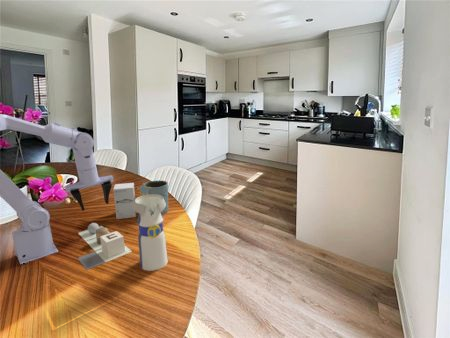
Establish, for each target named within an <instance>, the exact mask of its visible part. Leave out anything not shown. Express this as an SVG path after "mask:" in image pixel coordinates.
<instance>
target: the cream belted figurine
mask: <svg viewBox="0 0 450 338" xmlns="http://www.w3.org/2000/svg"><path fill="white" fill-rule="evenodd" d="M144 183H145V182H143V183H142V184H141V186H140V187H136V189H137V190H138V191H140V192H139V195H140V196H137V197H135V202H134V205H133V209H134V211H135V212H136V214H138V217H137V220H136V224H137V225H138V231H139V232H138V239H137V240H138V241H137V242H138V253H139V254H138V255H139V267H140V269H142V270H144V271H151V272H152V271H157V270H160V269H163V268H164V267H165V266H166V265H167V264H168V260H169V259H168V253H167V242H166V234H165V230H164V227H163V226H164V223H163V221H164V216H163V214H162V215H161V212H162V211H163V210H164V209H165V207H166V203H165V200H164V198H163V197H162V196H161V195H156V194H150V195H148V192H147V191H148V190H149V189H150V188H151V187H145V185H144ZM144 194H146V195H144Z"/></svg>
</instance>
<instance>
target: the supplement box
mask: <svg viewBox="0 0 450 338" xmlns="http://www.w3.org/2000/svg"><path fill="white" fill-rule="evenodd" d="M113 198H114V208H115V209H114V210H115V216H116V217H115V219H116V220H121V219H129V218H136V216H137V212H135V211H134V209H133V205H134V202H135V199H136V193H135V183H134V182H127V183H115V184H114V187H113Z"/></svg>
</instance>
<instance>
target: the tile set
mask: <svg viewBox="0 0 450 338" xmlns="http://www.w3.org/2000/svg"><path fill="white" fill-rule="evenodd" d="M98 226H99V229H100V228H105V227H104V226H103V225H98ZM77 233H78V235H79V236H80V237H81V238H82V239H83V240H84V241H85V242H86V243H87V244H88V246H90V248H91V249H92V250H93V251H94V252H96V253H97V254H98V255H99V256H100V257H101V258H102V259H103V260H104V261H105V263H108V262H110V261H112V260H116V259H118V258H120V257H122V256H123V257H124V256H126V255H127V254H130V253H132V252H133V250H131V249H130V248H129V247H128V246H126V245H125V252H123V253H120V254H118V255H115V256H113V257H110V258H108V257H107V256H106V255H105V254H104V253H103V252H102V246H101V244H97V238H96V233H90V232H89V231H88V229H85V230H83V231H79V232H77ZM109 233H111V232H110V231H109V230H108V234H109Z"/></svg>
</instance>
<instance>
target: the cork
mask: <svg viewBox="0 0 450 338" xmlns="http://www.w3.org/2000/svg"><path fill="white" fill-rule="evenodd" d="M108 231H109V228H107V227H104V228H100V229H97V230H96V238H97V244H101V239H100V236H103V235H106V234H109V233H108Z"/></svg>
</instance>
